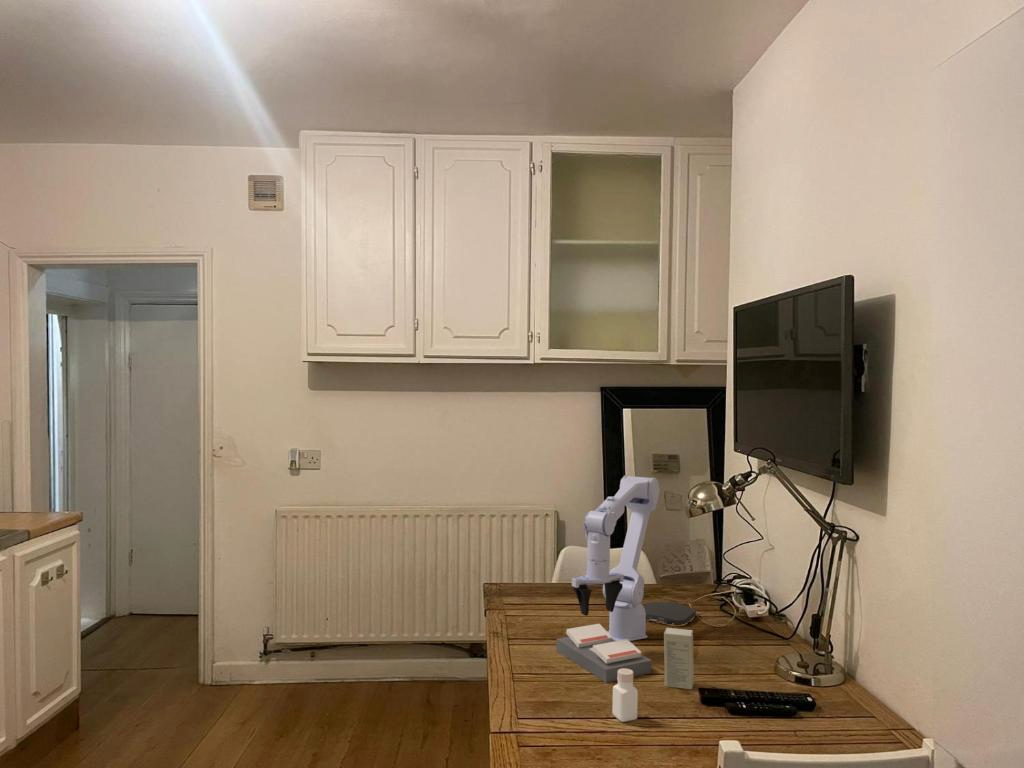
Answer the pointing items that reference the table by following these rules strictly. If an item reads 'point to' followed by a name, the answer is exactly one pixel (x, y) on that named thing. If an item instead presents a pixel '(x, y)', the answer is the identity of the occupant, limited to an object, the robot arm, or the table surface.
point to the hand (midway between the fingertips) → (597, 612)
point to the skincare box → (678, 658)
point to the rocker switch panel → (601, 661)
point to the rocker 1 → (588, 635)
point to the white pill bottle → (625, 696)
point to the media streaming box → (669, 612)
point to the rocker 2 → (616, 651)
